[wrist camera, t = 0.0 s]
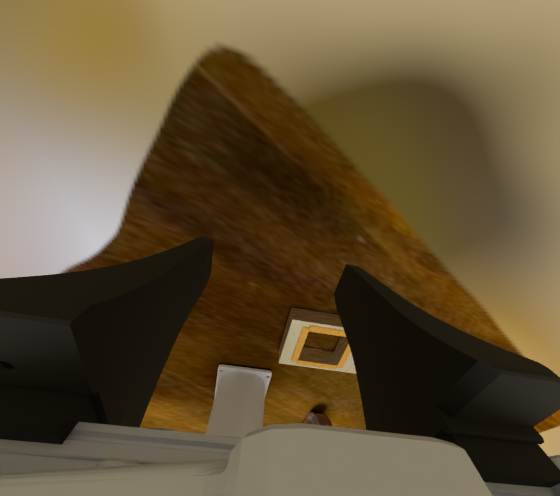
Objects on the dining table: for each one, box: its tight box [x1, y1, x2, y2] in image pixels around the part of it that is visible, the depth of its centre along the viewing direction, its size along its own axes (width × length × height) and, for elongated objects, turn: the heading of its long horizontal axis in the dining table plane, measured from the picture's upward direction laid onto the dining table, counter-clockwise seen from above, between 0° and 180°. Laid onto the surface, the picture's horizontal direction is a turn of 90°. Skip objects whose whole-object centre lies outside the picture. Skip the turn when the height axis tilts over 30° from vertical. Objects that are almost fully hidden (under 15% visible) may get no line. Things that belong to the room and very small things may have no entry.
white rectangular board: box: [278, 307, 356, 373], centre depth 27 cm, size 8×22×2 cm, turn 78°
